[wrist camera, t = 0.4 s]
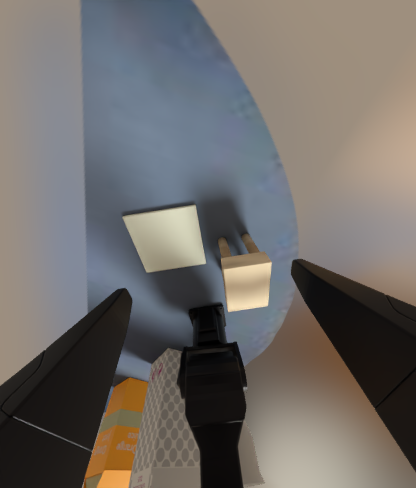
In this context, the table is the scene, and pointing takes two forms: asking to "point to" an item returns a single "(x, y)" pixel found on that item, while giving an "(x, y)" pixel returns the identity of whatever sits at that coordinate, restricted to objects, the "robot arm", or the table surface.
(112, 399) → the orange juice
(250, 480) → the chalice
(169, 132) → the table surface
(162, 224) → the mat
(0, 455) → the robot arm
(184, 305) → the table surface
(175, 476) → the box
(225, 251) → the tan block with pegs
